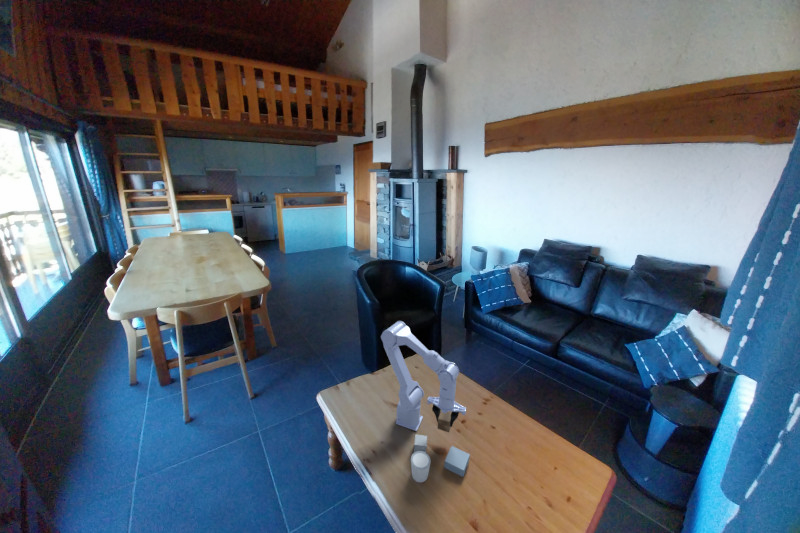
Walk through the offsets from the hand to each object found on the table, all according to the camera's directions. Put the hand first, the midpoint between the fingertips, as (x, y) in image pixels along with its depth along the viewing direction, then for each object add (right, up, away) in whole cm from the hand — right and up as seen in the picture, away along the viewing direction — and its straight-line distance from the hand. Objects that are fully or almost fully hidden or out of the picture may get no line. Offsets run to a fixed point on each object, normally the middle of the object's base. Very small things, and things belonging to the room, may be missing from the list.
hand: (445, 422), depth 116 cm
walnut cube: (0, -2, +1) cm, 2 cm away
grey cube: (-10, -10, -2) cm, 14 cm away
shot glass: (-10, -13, -11) cm, 20 cm away
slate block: (+3, -12, -7) cm, 14 cm away
